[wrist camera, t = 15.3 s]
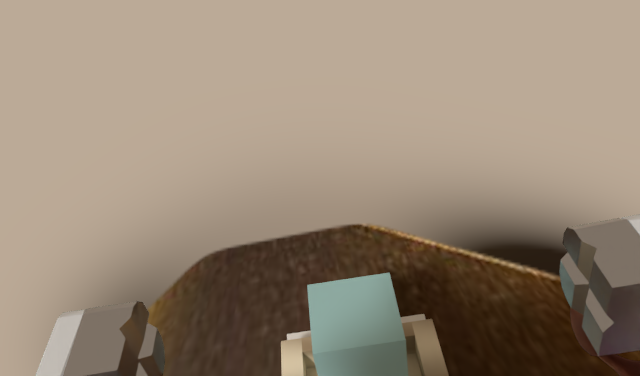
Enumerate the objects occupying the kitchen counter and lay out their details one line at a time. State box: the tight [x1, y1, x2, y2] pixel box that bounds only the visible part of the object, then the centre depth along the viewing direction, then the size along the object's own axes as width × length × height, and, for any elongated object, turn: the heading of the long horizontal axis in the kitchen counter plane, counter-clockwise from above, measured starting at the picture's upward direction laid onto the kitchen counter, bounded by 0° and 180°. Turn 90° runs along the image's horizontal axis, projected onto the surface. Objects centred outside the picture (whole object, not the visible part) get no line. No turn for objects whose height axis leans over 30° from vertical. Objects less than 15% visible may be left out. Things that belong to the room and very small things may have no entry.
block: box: [307, 273, 408, 376], centre depth 35 cm, size 5×5×10 cm
